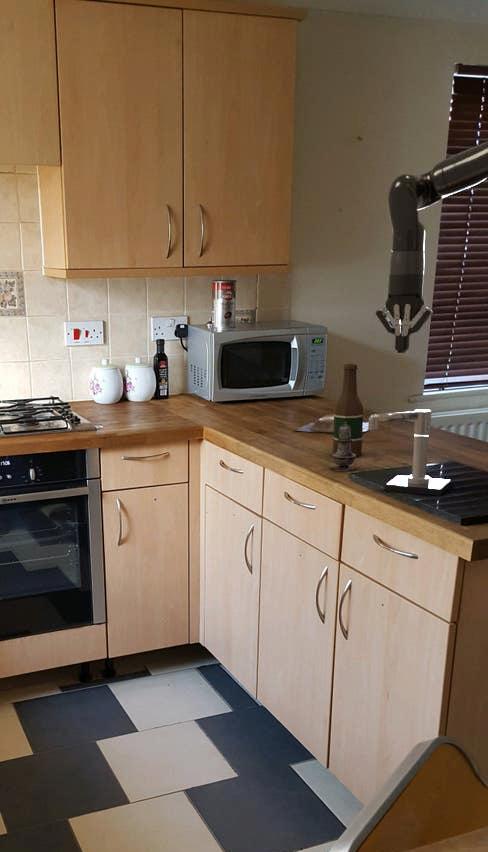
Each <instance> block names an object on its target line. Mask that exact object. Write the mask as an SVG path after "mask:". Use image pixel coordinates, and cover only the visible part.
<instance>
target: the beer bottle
mask: <svg viewBox="0 0 488 852" xmlns="http://www.w3.org/2000/svg"><path fill="white" fill-rule="evenodd" d="M342 368H343V378H342V389H341V394H340V396H339V398H338V399H337V401H336V403H335V406H334V410H333V414H334V433H333V434H332V435H333V438H332V444H333V445H332V454H335V453H337V451H338V441H337V440H338V439H339V428H340V426H342V425H344V422H345V421H346V425H348V426H350V427H351V439H352V441H351V452H352V453H353V454H355V455H356V457H355V458H357V457H361V455H362V451H363V433H364V432H363V422H364V405H363V402H362V400H361V399H360V398H359V396H358V390H357V389H358V387H357V385H358V384H357V382H358V381H357V379H358V378H357V370H358V368H359V367H358V365H357V364H356V363H345V364H343V367H342Z"/></svg>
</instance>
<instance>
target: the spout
mask: <svg viewBox="0 0 488 852" xmlns="http://www.w3.org/2000/svg"><path fill="white" fill-rule="evenodd" d="M432 412H433V411H432V410H431V409H422V408H421V409H415V410H414V411H402V412H400V411H399V412H383V413H372V414H370V416H369V417H368V422H367V423H368V429H369V430H368V431H378V430H379V426H380V423H386V422H401V421H402V422H403V421H413V429H412V435H413V436H414V435H420V436H425V435H428V436H430V435H431V426H432V425H431V424H432Z"/></svg>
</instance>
